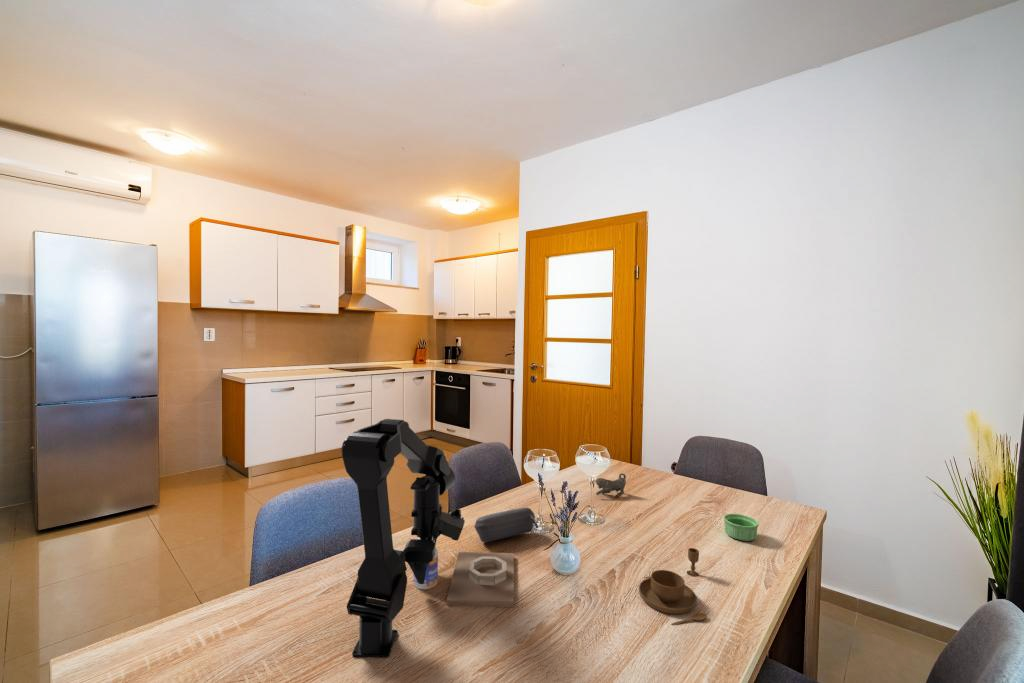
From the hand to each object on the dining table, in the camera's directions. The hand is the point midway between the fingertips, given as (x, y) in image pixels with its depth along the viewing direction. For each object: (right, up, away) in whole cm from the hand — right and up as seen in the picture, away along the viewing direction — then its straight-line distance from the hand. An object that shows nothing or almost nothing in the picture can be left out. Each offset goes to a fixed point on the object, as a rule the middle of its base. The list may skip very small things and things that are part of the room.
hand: (425, 572), depth 100 cm
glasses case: (+18, -3, +22) cm, 28 cm away
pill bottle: (0, -3, 0) cm, 3 cm away
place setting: (+57, -5, -2) cm, 57 cm away
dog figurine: (+54, -3, +57) cm, 79 cm away
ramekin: (+86, -4, +28) cm, 90 cm away
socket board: (+13, -3, +2) cm, 13 cm away
